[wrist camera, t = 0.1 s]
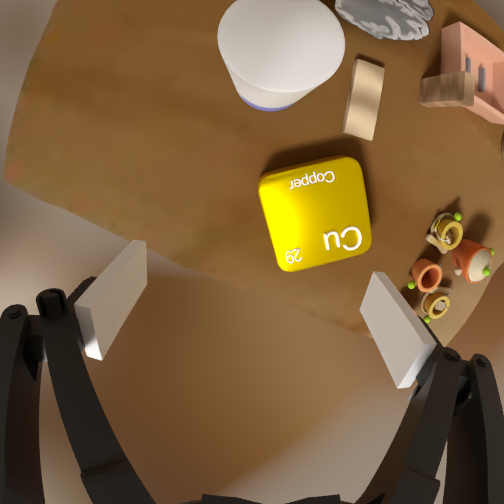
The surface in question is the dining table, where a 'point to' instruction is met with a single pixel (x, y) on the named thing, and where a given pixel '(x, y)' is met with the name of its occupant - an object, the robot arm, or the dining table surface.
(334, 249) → the element tile
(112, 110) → the dining table surface
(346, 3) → the brain slice
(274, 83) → the container
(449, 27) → the pink open box
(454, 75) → the tall beige block
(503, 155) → the wooden mug
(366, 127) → the beige wooden plank
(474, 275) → the toy tea set
